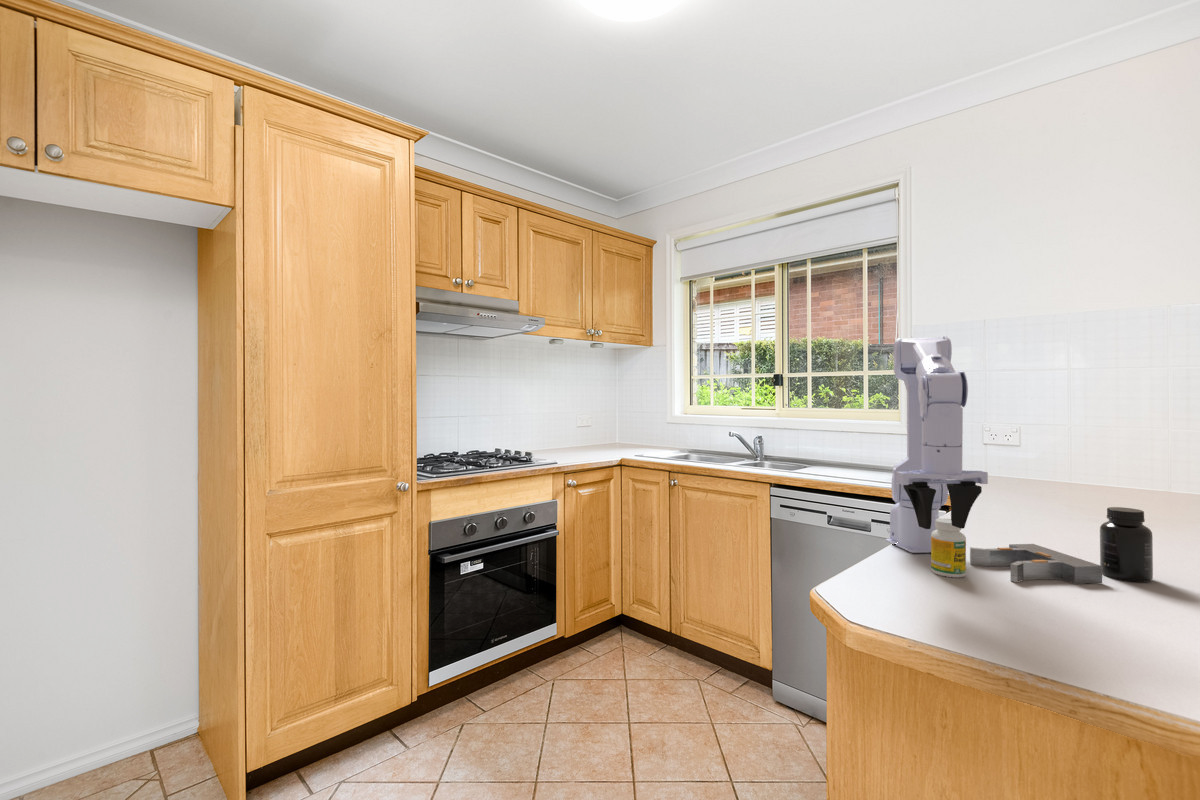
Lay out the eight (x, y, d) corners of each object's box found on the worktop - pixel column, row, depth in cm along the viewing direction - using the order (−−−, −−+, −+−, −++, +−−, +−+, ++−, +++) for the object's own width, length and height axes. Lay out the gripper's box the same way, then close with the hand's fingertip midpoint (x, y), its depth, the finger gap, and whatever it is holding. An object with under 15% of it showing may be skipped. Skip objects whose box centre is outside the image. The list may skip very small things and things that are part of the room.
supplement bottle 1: (939, 567, 104) (940, 516, 104) (971, 574, 100) (971, 521, 100) (925, 572, 101) (925, 519, 101) (957, 580, 97) (957, 525, 97)
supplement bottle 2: (1130, 571, 102) (1130, 505, 102) (1164, 584, 95) (1165, 514, 95) (1089, 570, 102) (1090, 505, 102) (1120, 582, 96) (1121, 513, 95)
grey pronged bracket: (962, 560, 108) (962, 544, 108) (1033, 559, 109) (1033, 542, 109) (1021, 585, 94) (1021, 566, 94) (1102, 583, 95) (1102, 564, 95)
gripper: (914, 448, 87) (914, 534, 88) (1002, 447, 88) (1002, 532, 89) (888, 444, 95) (888, 523, 95) (970, 443, 95) (969, 522, 96)
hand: (941, 527), depth 92 cm, fingers open, 5 cm apart
